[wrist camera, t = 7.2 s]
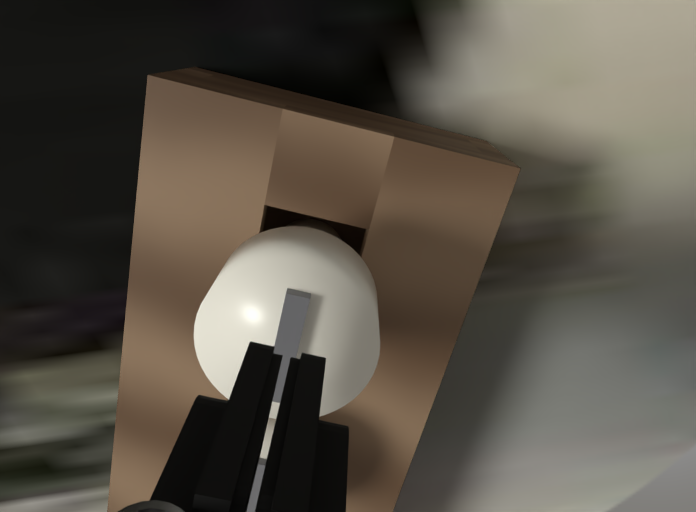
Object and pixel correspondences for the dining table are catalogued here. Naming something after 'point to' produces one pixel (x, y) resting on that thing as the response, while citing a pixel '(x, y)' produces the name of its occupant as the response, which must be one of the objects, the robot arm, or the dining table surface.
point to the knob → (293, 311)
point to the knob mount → (278, 211)
